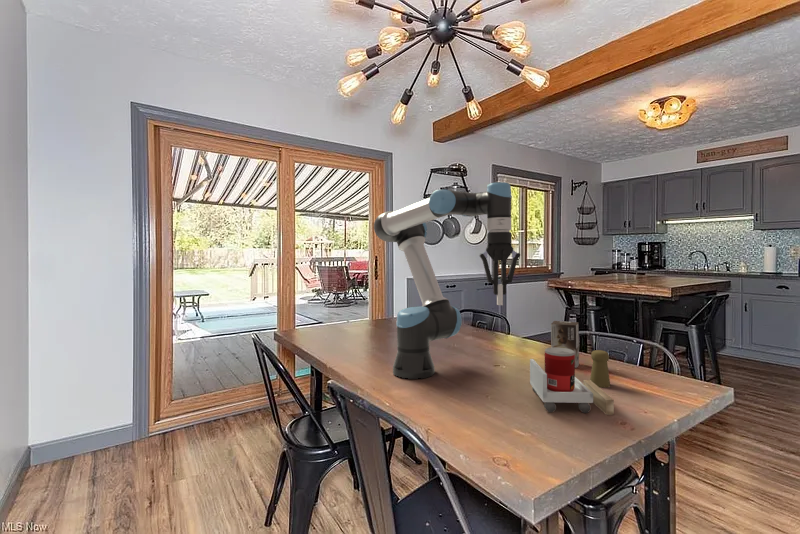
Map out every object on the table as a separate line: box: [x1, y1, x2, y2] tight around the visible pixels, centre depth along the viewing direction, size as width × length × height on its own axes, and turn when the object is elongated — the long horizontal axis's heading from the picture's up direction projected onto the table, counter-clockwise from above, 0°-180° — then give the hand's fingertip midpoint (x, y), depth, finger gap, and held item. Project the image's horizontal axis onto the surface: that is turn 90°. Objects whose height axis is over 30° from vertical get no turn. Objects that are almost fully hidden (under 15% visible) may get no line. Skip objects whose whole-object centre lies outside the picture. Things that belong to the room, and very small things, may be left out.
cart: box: [529, 358, 594, 414], centre depth 114 cm, size 13×15×10 cm
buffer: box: [583, 379, 615, 416], centre depth 113 cm, size 2×16×4 cm, turn 175°
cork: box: [589, 349, 611, 389], centre depth 128 cm, size 6×6×11 cm
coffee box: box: [550, 320, 580, 369], centre depth 150 cm, size 9×6×16 cm
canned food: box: [544, 347, 576, 392], centre depth 114 cm, size 8×8×11 cm
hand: (499, 304), depth 128 cm, fingers closed
